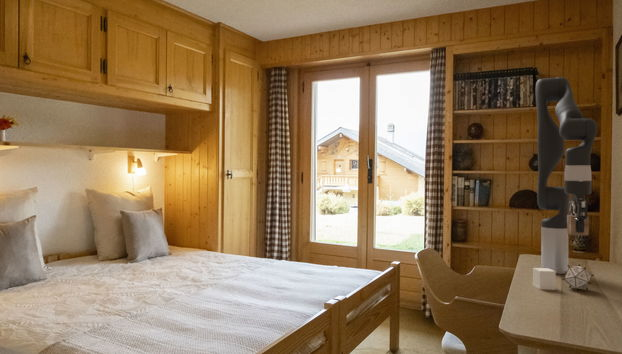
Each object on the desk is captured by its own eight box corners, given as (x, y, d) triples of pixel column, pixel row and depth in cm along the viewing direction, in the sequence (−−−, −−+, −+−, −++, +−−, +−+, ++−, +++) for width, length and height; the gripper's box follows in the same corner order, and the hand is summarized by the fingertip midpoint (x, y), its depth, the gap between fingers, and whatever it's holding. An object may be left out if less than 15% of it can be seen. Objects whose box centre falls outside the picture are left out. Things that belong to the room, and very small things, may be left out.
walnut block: (567, 232, 145) (567, 214, 145) (584, 233, 143) (584, 215, 143) (570, 234, 140) (570, 216, 140) (588, 235, 139) (588, 216, 139)
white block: (532, 285, 146) (532, 268, 146) (548, 286, 146) (548, 268, 146) (539, 289, 141) (539, 271, 141) (555, 289, 141) (555, 271, 141)
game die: (584, 302, 140) (602, 281, 134) (557, 291, 142) (574, 270, 136) (580, 283, 147) (597, 263, 142) (555, 273, 149) (570, 252, 143)
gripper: (559, 179, 150) (559, 228, 150) (570, 179, 136) (570, 233, 136) (584, 179, 147) (584, 229, 147) (597, 179, 134) (597, 234, 134)
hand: (577, 231), depth 142 cm, fingers closed on walnut block, 5 cm apart
